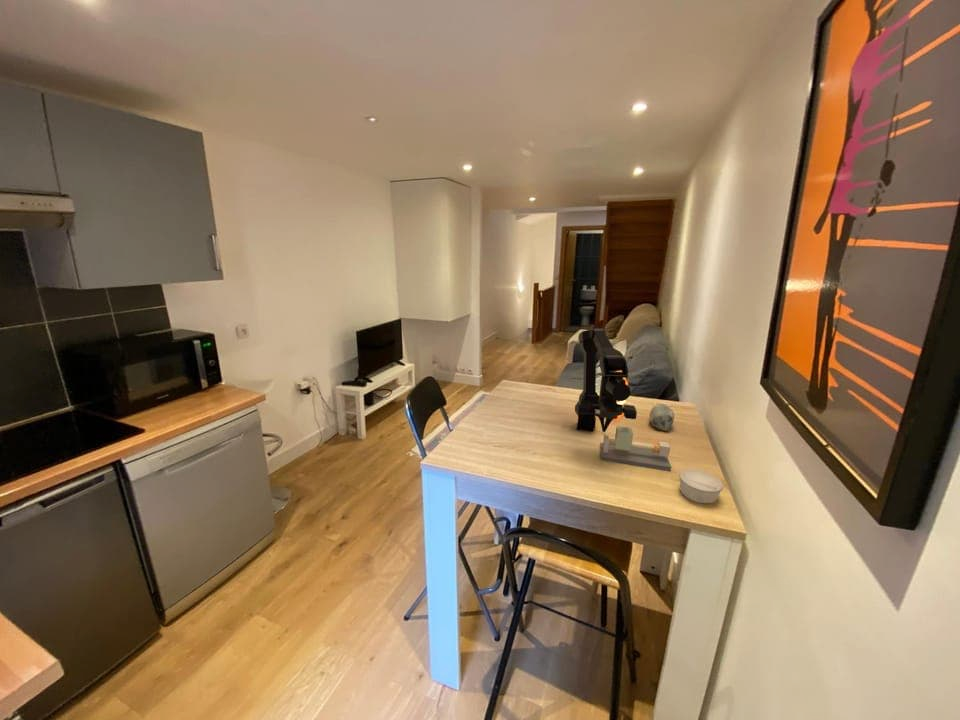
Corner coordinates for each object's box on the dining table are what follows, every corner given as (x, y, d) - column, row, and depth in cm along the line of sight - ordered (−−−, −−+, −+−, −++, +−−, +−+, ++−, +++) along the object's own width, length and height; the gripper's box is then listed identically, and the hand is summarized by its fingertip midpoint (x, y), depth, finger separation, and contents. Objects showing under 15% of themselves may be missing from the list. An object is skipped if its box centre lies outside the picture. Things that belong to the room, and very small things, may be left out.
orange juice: (598, 415, 164) (603, 372, 159) (606, 409, 171) (612, 367, 165) (616, 421, 159) (622, 376, 154) (624, 414, 166) (630, 371, 160)
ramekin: (689, 506, 107) (692, 490, 105) (669, 483, 118) (672, 468, 116) (728, 507, 107) (732, 491, 105) (705, 483, 118) (708, 468, 116)
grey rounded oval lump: (678, 428, 146) (669, 403, 148) (653, 434, 151) (644, 410, 152) (678, 423, 159) (669, 400, 160) (655, 428, 163) (646, 406, 164)
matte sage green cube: (615, 448, 130) (617, 431, 128) (614, 442, 134) (616, 425, 132) (630, 450, 128) (633, 433, 127) (629, 444, 133) (631, 427, 131)
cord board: (600, 460, 129) (602, 442, 128) (599, 446, 139) (601, 429, 137) (670, 471, 124) (673, 452, 122) (664, 455, 133) (668, 438, 131)
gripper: (579, 394, 122) (575, 438, 127) (641, 401, 117) (634, 446, 122) (580, 383, 132) (576, 424, 137) (637, 389, 128) (631, 431, 132)
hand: (603, 431), depth 132 cm, fingers closed
